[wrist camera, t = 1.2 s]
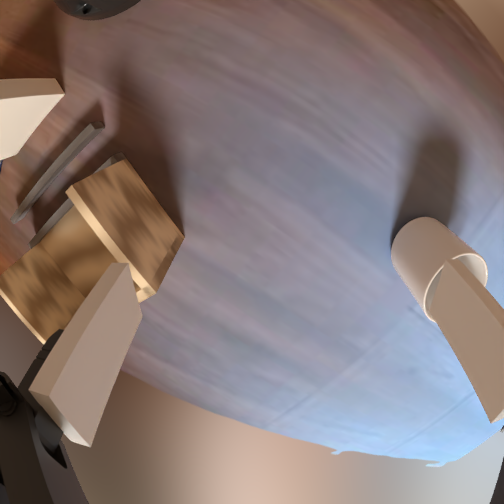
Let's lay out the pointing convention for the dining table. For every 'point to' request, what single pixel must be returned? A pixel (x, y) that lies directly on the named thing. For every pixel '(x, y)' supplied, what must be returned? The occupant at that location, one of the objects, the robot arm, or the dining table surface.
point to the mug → (430, 258)
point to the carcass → (88, 241)
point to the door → (24, 109)
